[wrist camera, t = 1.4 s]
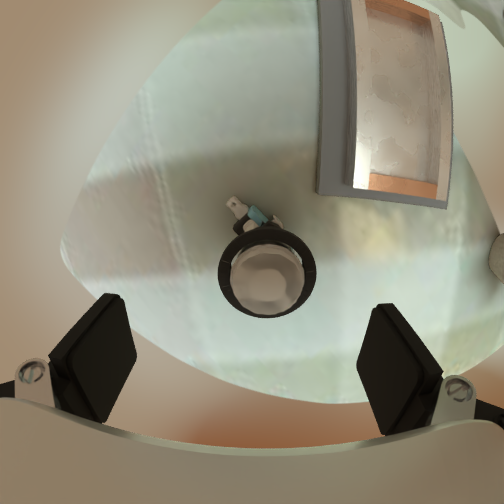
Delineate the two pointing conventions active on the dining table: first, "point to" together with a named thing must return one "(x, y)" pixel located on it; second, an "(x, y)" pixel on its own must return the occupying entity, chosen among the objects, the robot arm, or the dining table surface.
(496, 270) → the house plant
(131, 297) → the dining table surface
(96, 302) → the robot arm
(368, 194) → the panel
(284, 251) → the round cylindrical fitting
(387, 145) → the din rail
